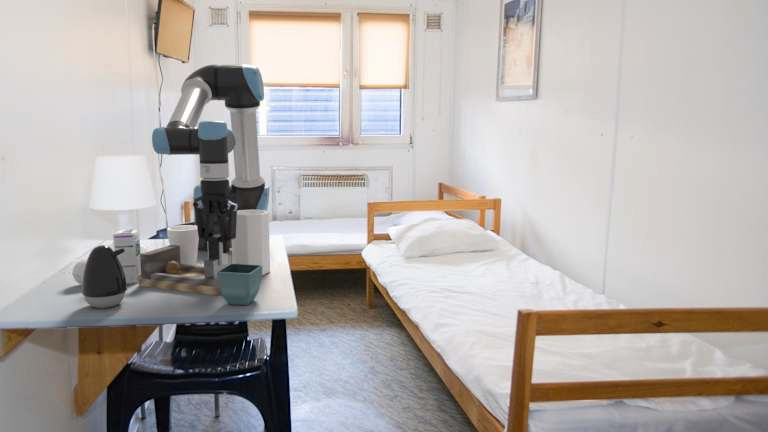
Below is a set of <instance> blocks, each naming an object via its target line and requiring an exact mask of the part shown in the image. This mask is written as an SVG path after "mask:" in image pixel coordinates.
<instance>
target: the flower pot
mask: <svg viewBox="0 0 768 432" xmlns="http://www.w3.org/2000/svg"><path fill="white" fill-rule="evenodd" d="M217 274H218V280H219V286H220V290H221V293H222V294H221V295H222V298H223V299H224V301H226V303H227V304H228V305H239V306H240V305H241V306H247V305H249V304H251V302H253V301H254V300H255V299H256V297H257V295H258V292H259V291H260V288H261V284H262V277H263V276H262V265H248V264H229V265H227V266H226V267H224V268H223V269H221V270H219V271H218V272H217Z"/></svg>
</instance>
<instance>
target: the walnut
mask: <svg viewBox="0 0 768 432" xmlns="http://www.w3.org/2000/svg"><path fill="white" fill-rule="evenodd" d="M179 269H180V266H179V264H178V263H177V262H175V261H169V262H168V263H167V264H166V265H165V271H166V273H167V274H173V275H175V274H177V273H178V272H179Z"/></svg>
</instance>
